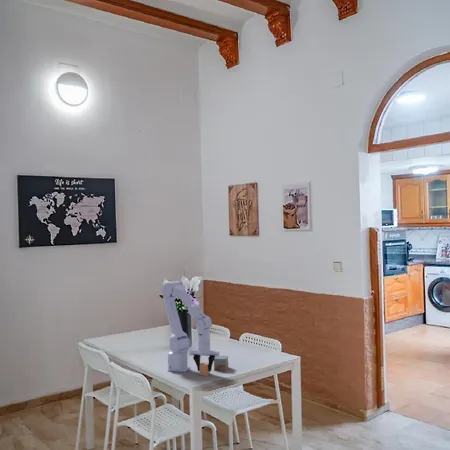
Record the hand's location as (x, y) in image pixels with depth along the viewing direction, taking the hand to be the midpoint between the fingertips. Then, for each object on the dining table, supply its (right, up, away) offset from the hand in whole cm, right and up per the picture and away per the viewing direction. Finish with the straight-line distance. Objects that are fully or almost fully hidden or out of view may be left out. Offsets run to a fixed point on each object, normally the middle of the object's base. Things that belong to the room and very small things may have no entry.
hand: (204, 370), depth 234 cm
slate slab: (+8, +1, +9) cm, 12 cm away
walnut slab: (+8, -2, +9) cm, 12 cm away
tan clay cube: (0, -2, 0) cm, 2 cm away
